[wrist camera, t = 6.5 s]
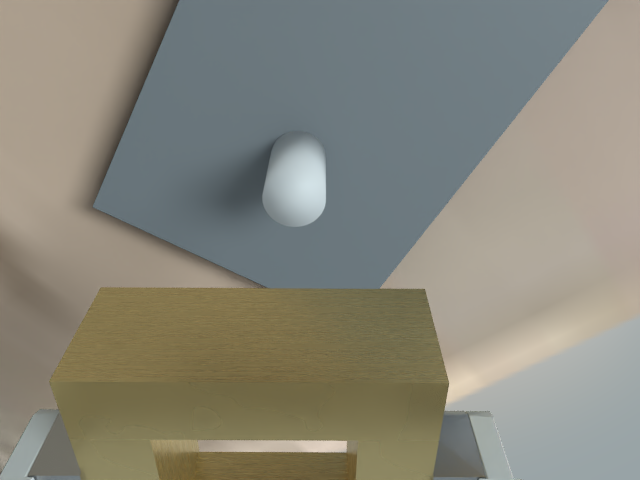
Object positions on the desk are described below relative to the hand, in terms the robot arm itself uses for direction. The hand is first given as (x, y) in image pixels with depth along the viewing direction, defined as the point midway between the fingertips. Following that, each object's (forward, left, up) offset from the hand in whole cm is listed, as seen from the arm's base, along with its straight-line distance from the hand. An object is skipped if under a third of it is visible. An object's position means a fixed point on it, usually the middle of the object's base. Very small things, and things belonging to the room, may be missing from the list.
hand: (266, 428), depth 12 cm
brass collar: (0, 0, -1) cm, 1 cm away
